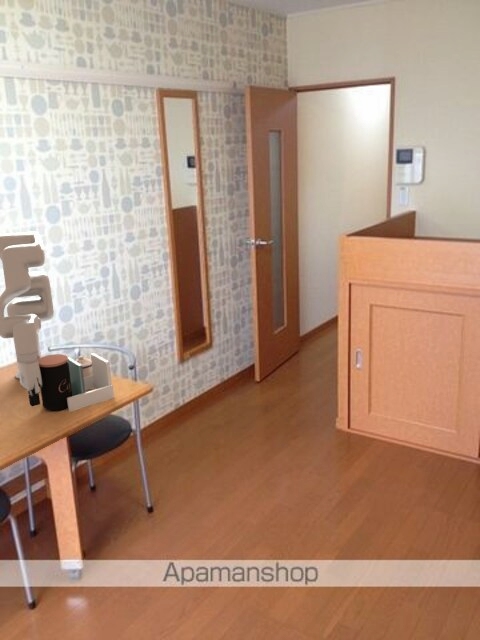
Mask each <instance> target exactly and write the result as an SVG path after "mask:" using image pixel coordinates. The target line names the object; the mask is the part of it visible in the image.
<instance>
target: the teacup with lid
mask: <svg viewBox="0 0 480 640" xmlns="http://www.w3.org/2000/svg"><path fill="white" fill-rule="evenodd" d="M75 361H76V362H78V363H80V364H81V365H82V368H83V377H87V376H90V375H93V369H92V361H91V358H87V357H84V356H83V355H80V356H78V358H76V359H75Z"/></svg>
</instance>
